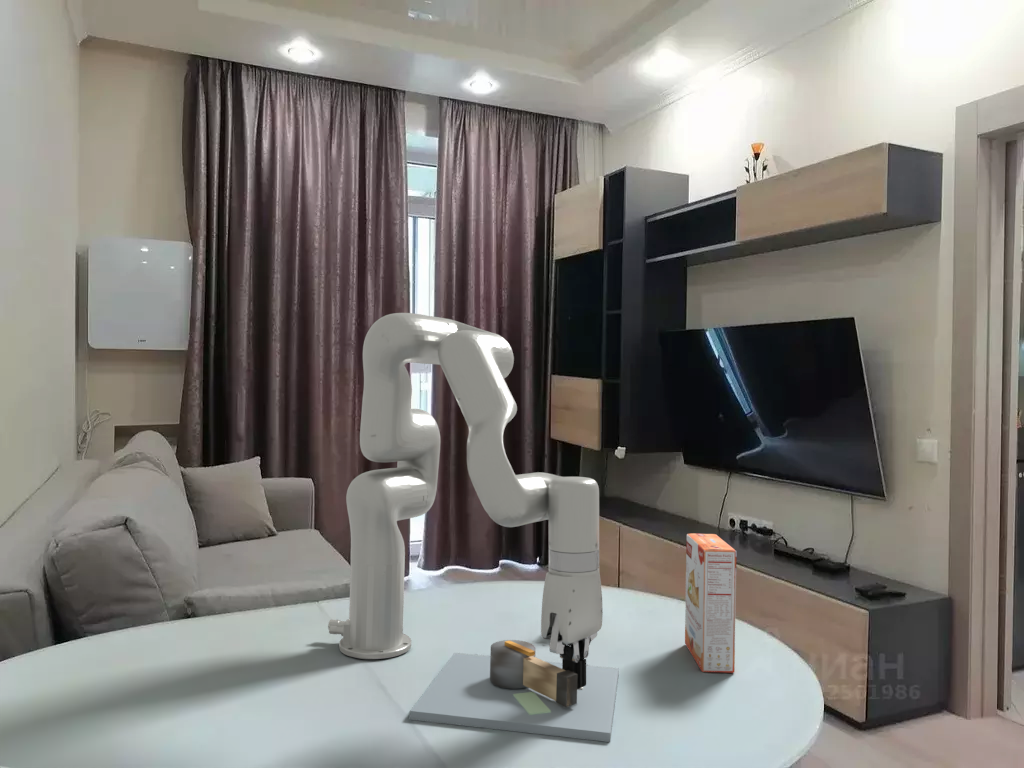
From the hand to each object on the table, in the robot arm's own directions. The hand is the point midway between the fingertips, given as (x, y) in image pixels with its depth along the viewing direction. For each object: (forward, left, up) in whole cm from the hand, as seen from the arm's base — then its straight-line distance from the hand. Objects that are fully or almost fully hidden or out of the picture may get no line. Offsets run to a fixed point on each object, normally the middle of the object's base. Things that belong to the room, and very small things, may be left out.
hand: (574, 685), depth 112 cm
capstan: (-6, +1, -2) cm, 7 cm away
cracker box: (+21, +26, -3) cm, 34 cm away
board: (-8, +2, -3) cm, 9 cm away
